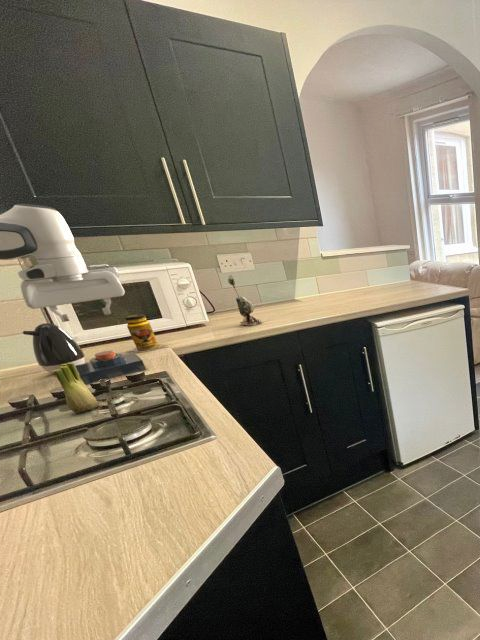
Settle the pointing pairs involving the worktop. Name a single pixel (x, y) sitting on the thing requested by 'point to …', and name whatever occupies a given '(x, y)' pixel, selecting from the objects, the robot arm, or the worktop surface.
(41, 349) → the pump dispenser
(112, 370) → the blue jug base
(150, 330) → the condiment
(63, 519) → the worktop surface
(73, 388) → the fennel bulb
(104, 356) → the jug button
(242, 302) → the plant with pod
